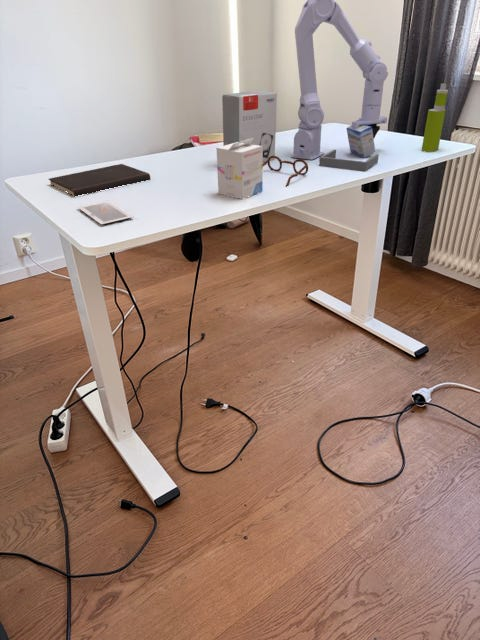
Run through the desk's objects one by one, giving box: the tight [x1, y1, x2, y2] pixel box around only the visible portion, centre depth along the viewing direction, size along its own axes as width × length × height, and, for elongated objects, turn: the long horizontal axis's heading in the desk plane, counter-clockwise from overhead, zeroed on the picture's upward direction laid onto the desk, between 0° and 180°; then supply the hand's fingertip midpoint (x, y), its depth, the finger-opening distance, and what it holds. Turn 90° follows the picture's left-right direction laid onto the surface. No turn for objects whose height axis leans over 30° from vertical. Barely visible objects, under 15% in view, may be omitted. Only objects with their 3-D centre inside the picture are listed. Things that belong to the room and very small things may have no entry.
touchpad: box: [77, 200, 135, 225], centre depth 114 cm, size 8×15×2 cm, turn 36°
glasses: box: [263, 155, 309, 188], centre depth 137 cm, size 13×13×5 cm
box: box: [318, 149, 380, 172], centre depth 149 cm, size 11×15×2 cm
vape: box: [421, 83, 449, 153], centre depth 158 cm, size 4×6×20 cm, turn 125°
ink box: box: [216, 138, 264, 200], centre depth 123 cm, size 9×8×13 cm
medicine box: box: [346, 124, 376, 159], centre depth 156 cm, size 8×4×9 cm, turn 24°
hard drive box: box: [221, 90, 278, 163], centre depth 149 cm, size 16×8×20 cm, turn 129°
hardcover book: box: [48, 163, 151, 197], centre depth 137 cm, size 16×23×2 cm
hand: (366, 149), depth 160 cm, fingers closed
